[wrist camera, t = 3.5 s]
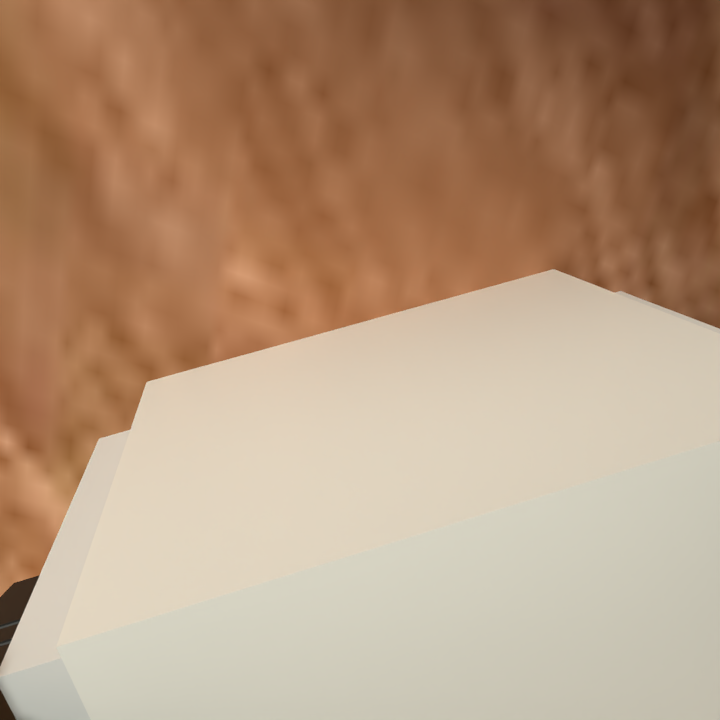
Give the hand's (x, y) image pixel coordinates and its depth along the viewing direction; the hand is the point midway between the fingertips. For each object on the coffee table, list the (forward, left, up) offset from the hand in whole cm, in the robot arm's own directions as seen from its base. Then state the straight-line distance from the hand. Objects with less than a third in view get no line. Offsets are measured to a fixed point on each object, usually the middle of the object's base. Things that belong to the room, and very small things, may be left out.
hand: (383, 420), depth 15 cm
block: (0, 0, -1) cm, 1 cm away
